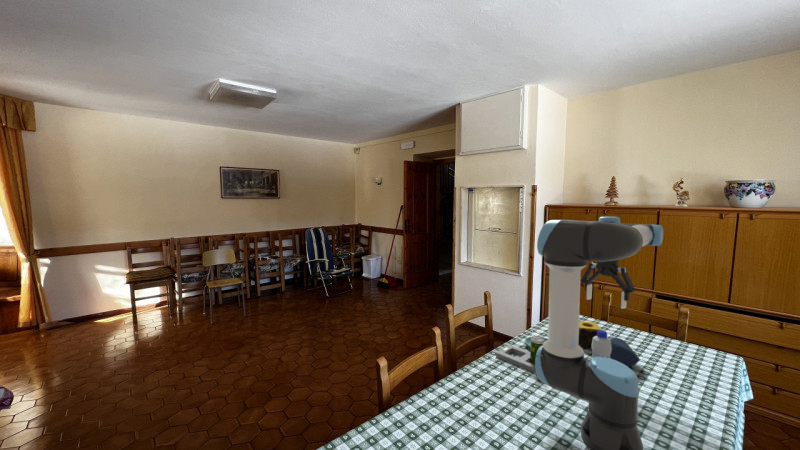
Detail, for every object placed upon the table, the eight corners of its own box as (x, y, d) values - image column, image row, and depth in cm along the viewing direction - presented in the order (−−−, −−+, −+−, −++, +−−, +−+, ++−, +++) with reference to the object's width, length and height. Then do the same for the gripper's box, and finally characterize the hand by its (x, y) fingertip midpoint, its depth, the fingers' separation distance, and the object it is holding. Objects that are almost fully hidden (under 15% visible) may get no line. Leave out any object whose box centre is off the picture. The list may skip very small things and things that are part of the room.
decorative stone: (612, 369, 132) (613, 346, 131) (601, 355, 144) (602, 334, 143) (644, 373, 129) (645, 349, 128) (630, 358, 141) (632, 337, 140)
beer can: (539, 362, 138) (540, 335, 137) (546, 368, 133) (547, 341, 132) (527, 363, 138) (528, 336, 137) (534, 369, 132) (534, 341, 131)
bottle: (613, 386, 120) (615, 335, 119) (594, 384, 122) (596, 333, 120) (605, 376, 127) (607, 328, 125) (587, 374, 128) (589, 326, 127)
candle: (577, 347, 152) (577, 327, 151) (572, 339, 161) (573, 320, 161) (601, 350, 149) (602, 330, 148) (595, 341, 158) (595, 322, 158)
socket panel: (544, 376, 127) (544, 371, 127) (496, 356, 143) (496, 352, 143) (557, 366, 135) (557, 361, 134) (510, 348, 151) (510, 344, 151)
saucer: (565, 352, 148) (565, 346, 147) (541, 358, 142) (541, 352, 142) (541, 339, 161) (541, 334, 161) (518, 344, 156) (518, 339, 156)
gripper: (647, 257, 123) (644, 310, 124) (582, 249, 144) (581, 294, 146) (638, 259, 119) (635, 314, 120) (573, 250, 140) (571, 297, 142)
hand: (605, 303), depth 133 cm, fingers open, 13 cm apart
